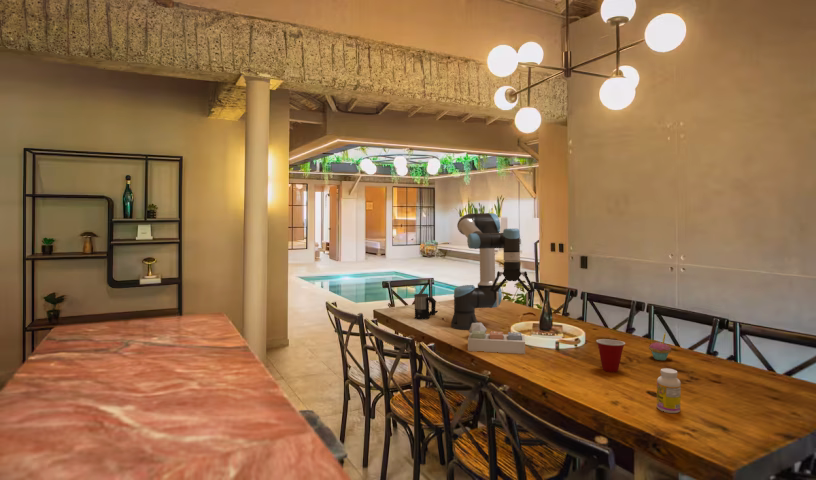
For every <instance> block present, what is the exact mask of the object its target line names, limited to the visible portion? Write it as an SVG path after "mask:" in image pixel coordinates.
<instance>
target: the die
mask: <svg viewBox="0 0 816 480" xmlns="http://www.w3.org/2000/svg"><path fill="white" fill-rule="evenodd" d="M487 330H488V329H487V328H486V326H484V323H482V322H478V323H472V324H471V327H470V329H468V333H469V334H470V333H472V331H485V334H487V333H486V332H487Z"/></svg>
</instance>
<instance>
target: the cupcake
mask: <svg viewBox="0 0 816 480" xmlns="http://www.w3.org/2000/svg"><path fill="white" fill-rule="evenodd" d="M665 340H666V331H665V332H664V334H663V337H662V342H661V341H660V342H652V343H650V345H648V350H649V351H650V352H651V354H652V357H653V359H655V360H657V361H666V360H667V359H668V356H669V354H670V353H671V352H672V347H671V346H670V345H668V344H667V343H665Z"/></svg>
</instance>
